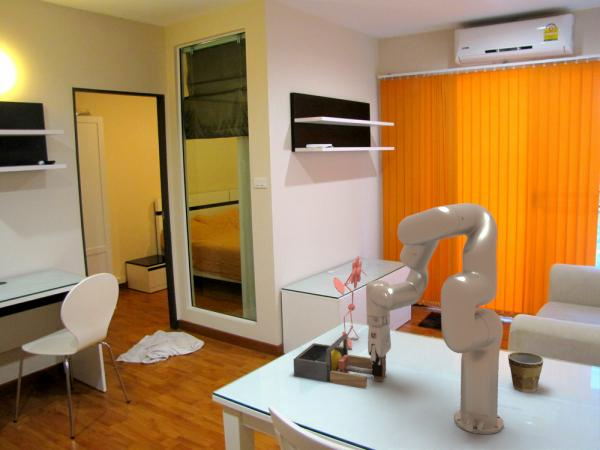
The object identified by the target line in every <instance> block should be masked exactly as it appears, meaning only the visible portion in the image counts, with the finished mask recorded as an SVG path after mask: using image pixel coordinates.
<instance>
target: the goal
mask: <svg viewBox="0 0 600 450" xmlns="http://www.w3.org/2000/svg"><path fill="white" fill-rule="evenodd" d="M347 334H348V333H346V334H343V335H341V336H340V337H339V338H338V339H336V340H335V341H334V342H333V343H332V344H331V345H328V344H323V343H322V344H321V343H311V344H310V345H309V346H308V347H307V348H306V349H304V350H303V351H301V352H300V353H299V354H298V355H297V356H296V357H294V358H293V377H297V378H303V379H307V380H314V381H319V382H325V383H330V372H331V371H332V368H331V351H333V350H334V349H335V350H336V351H338V352H339V353H340V354H341V356H342V357H343V356H344V355H349V351H348V350H349V349H348V348H349V347H348V337H347ZM340 343H341V344H342V343H343V344H342V346H339V347H338V345H339V344H340ZM341 344H340V345H341ZM326 360H327V363H326Z"/></svg>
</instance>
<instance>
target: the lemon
mask: <svg viewBox="0 0 600 450" xmlns="http://www.w3.org/2000/svg"><path fill="white" fill-rule="evenodd" d="M341 358H342V356H341V354H340V353H339V352H338V351H336V350H335V349H334V350H333V351H331V368H332V371H339V360H340V359H341ZM325 363H327V360H326V362H325Z"/></svg>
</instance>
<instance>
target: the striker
mask: <svg viewBox="0 0 600 450" xmlns="http://www.w3.org/2000/svg"><path fill="white" fill-rule="evenodd" d="M348 355H349V354H348ZM348 355H344V356H343V357H342V358H341V359H340V360H339V369H338V372H344V373H348V372H350V373H355V374H357V373H358V374H364V375H369V376H373V375H372V369H366V368H360V367H353V366H349V356H348ZM376 355H378V354H377V353H376ZM376 359H378V357H376ZM381 365H382V377H378V376H373V377H372V379H373V380H374V381H377V382H378V381H379V382H384V381H385V379H386V378H387V354H386V355H385V356H384V357H381Z"/></svg>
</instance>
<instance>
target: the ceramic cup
mask: <svg viewBox="0 0 600 450" xmlns="http://www.w3.org/2000/svg"><path fill="white" fill-rule="evenodd" d="M507 360H508V365H509V369H510V375H511V381H512V387H513V389H514V390H515V391H517V392H521V393H525V394H532V393H534V392H536V391H537V389H538V385H539V381H540V376H541V373H542V369H543V365H544V357H542V356H540V355H539V354H537V353H534V352H533V353H532V352H528V351H513V352H510V353H509V354H508V356H507Z"/></svg>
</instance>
